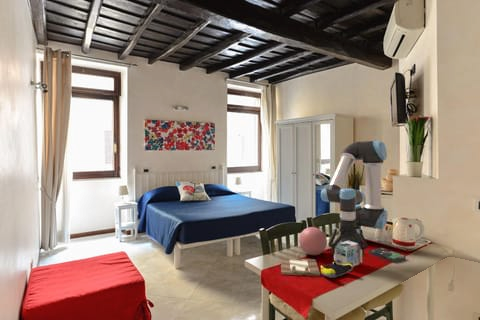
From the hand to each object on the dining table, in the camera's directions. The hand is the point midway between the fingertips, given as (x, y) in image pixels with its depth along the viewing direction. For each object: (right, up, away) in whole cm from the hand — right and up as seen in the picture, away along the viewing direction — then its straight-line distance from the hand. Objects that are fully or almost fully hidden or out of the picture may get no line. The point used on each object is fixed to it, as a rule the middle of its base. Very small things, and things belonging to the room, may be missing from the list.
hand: (347, 260), depth 142 cm
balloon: (-12, -2, +16) cm, 20 cm away
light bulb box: (0, -2, 0) cm, 2 cm away
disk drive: (+26, -2, +10) cm, 28 cm away
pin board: (-26, -2, -3) cm, 26 cm away
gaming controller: (-11, -3, -12) cm, 17 cm away
